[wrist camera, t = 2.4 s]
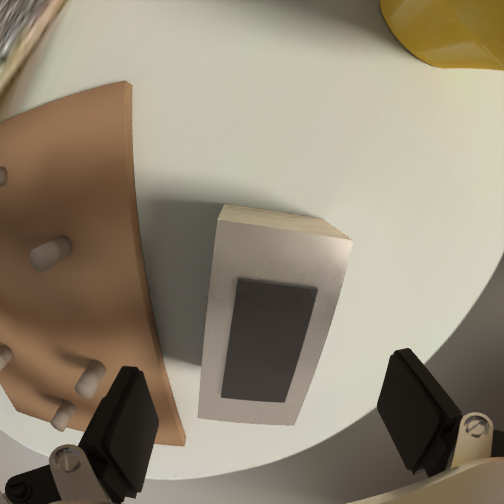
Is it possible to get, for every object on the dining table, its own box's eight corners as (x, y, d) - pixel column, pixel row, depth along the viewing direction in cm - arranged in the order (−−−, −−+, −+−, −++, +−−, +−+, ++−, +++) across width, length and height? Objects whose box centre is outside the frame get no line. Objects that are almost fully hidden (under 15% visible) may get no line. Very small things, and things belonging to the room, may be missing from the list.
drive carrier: (225, 203, 14) (217, 220, 10) (322, 218, 15) (355, 242, 10) (205, 365, 17) (197, 420, 13) (284, 373, 17) (294, 428, 13)
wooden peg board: (-51, 156, 12) (-80, 160, 8) (132, 85, 12) (103, 66, 9) (20, 405, 19) (6, 426, 15) (186, 437, 19) (180, 471, 16)
